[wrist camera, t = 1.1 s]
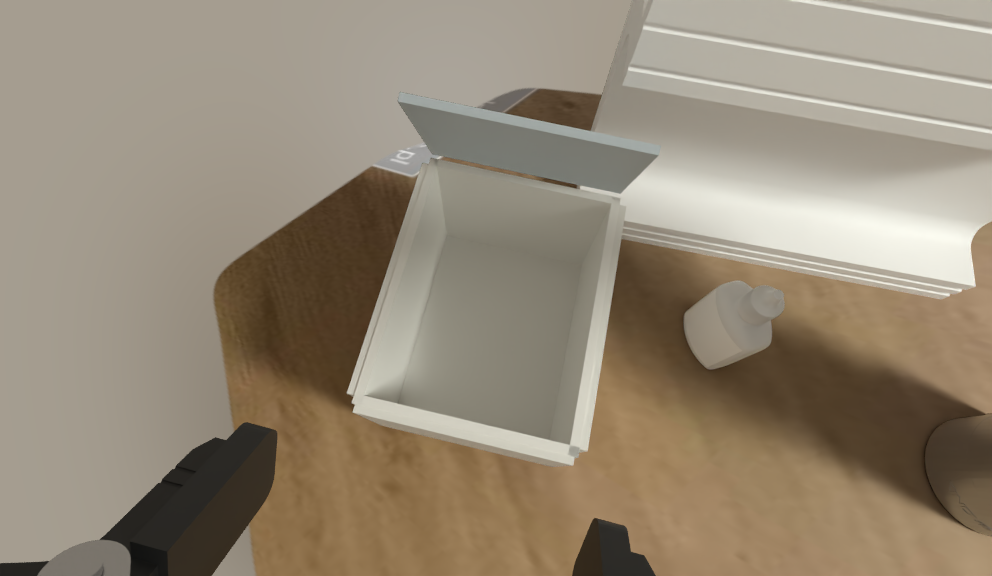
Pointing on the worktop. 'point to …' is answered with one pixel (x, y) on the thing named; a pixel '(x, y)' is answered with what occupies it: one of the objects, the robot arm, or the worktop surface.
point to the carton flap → (528, 144)
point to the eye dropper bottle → (732, 323)
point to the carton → (493, 314)
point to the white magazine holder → (810, 134)
